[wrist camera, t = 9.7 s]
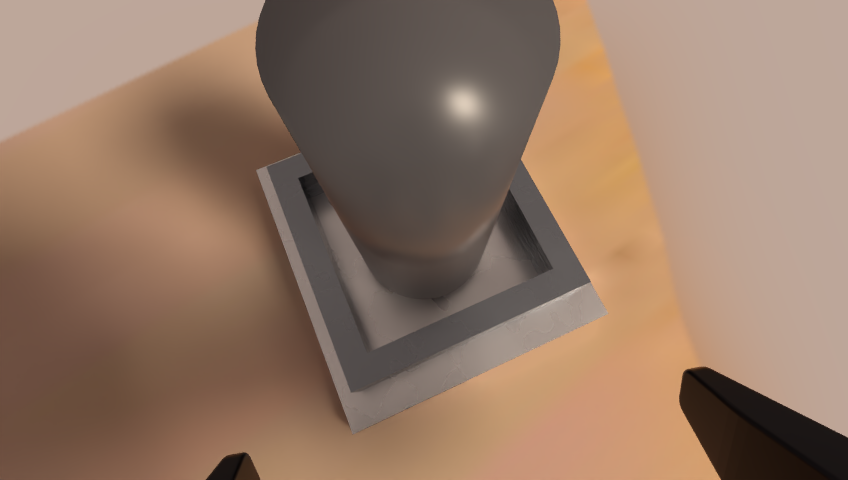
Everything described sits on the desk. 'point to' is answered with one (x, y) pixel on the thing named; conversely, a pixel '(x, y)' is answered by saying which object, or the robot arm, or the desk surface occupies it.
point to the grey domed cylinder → (411, 119)
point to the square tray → (426, 318)
